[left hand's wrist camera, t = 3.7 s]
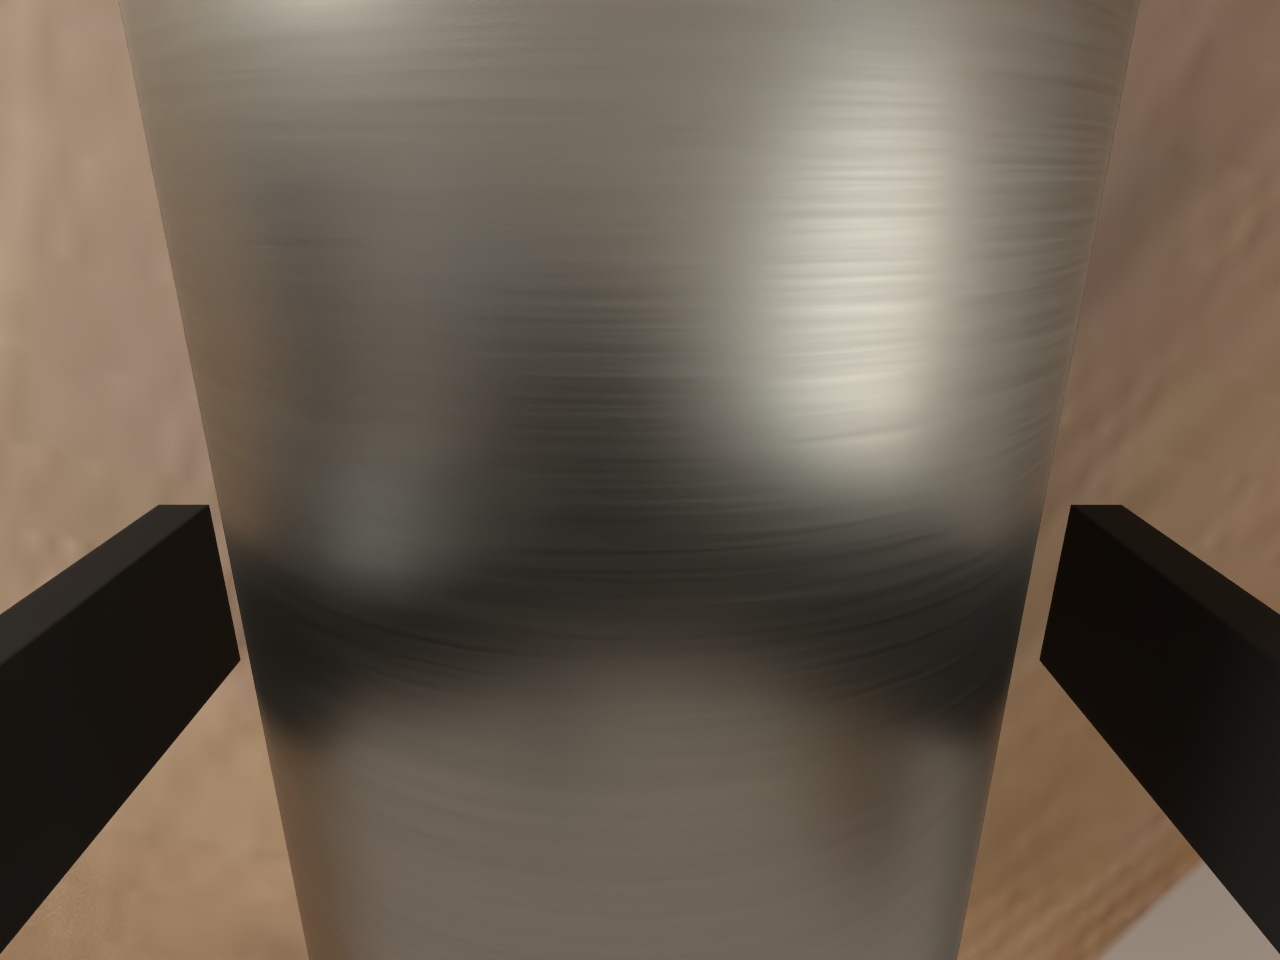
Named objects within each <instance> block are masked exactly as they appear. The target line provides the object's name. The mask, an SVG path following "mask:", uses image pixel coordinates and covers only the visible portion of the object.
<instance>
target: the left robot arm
mask: <svg viewBox="0 0 1280 960" xmlns="http://www.w3.org/2000/svg"><path fill="white" fill-rule="evenodd" d="M239 661H240V655H239V650H238V645H237V640H236V635H235V630H234V626H233V621H232V616H231V611H230V606H229V601H228V596H227V591H226V586H225V581H224V576H223V571H222V567H221V562H220V557H219V552H218V547H217V542H216V537H215V532H214V527H213V522H212V517H211V513H210V508H209V505H158V506H156V507H155V508H153V509H152V510H151V511H149V512H148V513H146V514H145V515H143V516H142V517H140V518H139V519H138V520H136V521H135V522H133V523H132V524H130V525H129V526H127V527H126V528H125V529H123V530H122V531H120V532H119V533H117V534H116V535H114V536H113V537H112V538H110V539H109V540H107V541H106V542H104V543H103V544H102V545H100V546H99V547H97V548H96V549H94V550H93V551H91V552H90V553H89V554H87V555H86V556H84V557H83V558H81V559H80V560H78V561H77V562H76V563H74V564H73V565H71V566H70V567H68V568H67V569H65V570H64V571H63V572H61V573H60V574H58V575H57V576H55V577H54V578H52V579H51V580H50V581H48V582H47V583H45V584H44V585H42V586H41V587H39V588H38V589H37V590H35V591H34V592H32V593H31V594H29V595H28V596H26V597H25V598H24V599H22V600H21V601H19V602H18V603H16V604H15V605H13V606H12V607H11V608H9V609H8V610H6V611H5V612H3V613H2V614H0V954H1V952H2V951H3V950H4V949H5V947H6V946H7V945H8V944H9V943H10V941H11V940H12V939H13V938H14V936H15V935H16V934H17V933H18V932H19V930H20V929H21V928H22V927H23V925H24V924H25V923H26V922H27V921H28V919H29V918H30V917H31V916H32V914H33V913H34V912H35V911H36V910H37V908H38V907H39V906H40V905H41V903H42V902H43V901H44V900H45V899H46V897H47V896H48V895H49V894H50V892H51V891H52V890H53V889H54V888H55V886H56V885H57V884H58V883H59V881H60V880H61V879H62V878H63V877H64V875H65V874H66V873H67V872H68V870H69V869H70V868H71V867H72V866H73V864H74V863H75V862H76V861H77V859H78V858H79V857H80V856H81V855H82V853H83V852H84V851H85V850H86V848H87V847H88V846H89V845H90V844H91V842H92V841H93V840H94V839H95V837H96V836H97V835H98V834H99V832H100V831H101V830H102V829H103V828H104V826H105V825H106V824H107V823H108V821H109V820H110V819H111V818H112V817H113V815H114V814H115V813H116V812H117V810H118V809H119V808H120V807H121V806H122V804H123V803H124V802H125V801H126V799H127V798H128V797H129V796H130V795H131V793H132V792H133V791H134V790H135V788H136V787H137V786H138V785H139V784H140V782H141V781H142V780H143V779H144V777H145V776H146V775H147V774H148V773H149V771H150V770H151V769H152V768H153V766H154V765H155V764H156V763H157V762H158V760H159V759H160V758H161V757H162V755H163V754H164V753H165V752H166V751H167V749H168V748H169V747H170V746H171V744H172V743H173V742H174V741H175V740H176V738H177V737H178V736H179V735H180V733H181V732H182V731H183V730H184V729H185V727H186V726H187V725H188V724H189V722H190V721H191V720H192V719H193V718H194V716H195V715H196V714H197V713H198V711H199V710H200V709H201V708H202V706H203V705H204V704H205V703H206V702H207V700H208V699H209V698H210V697H211V695H212V694H213V693H214V692H215V691H216V689H217V688H218V687H219V686H220V684H221V683H222V682H223V681H224V680H225V678H226V677H227V676H228V675H229V673H230V672H231V671H232V670H233V669H234V667H235V666H236V665H237V664H238V662H239ZM1040 661H1041V662H1042V664H1043V665H1044V666H1045V667H1046V669H1047V670H1048V671H1049V672H1050V673H1051V675H1052V676H1053V677H1054V678H1055V680H1056V681H1057V682H1058V683H1059V684H1060V686H1061V687H1062V688H1063V689H1064V691H1065V692H1066V693H1067V694H1068V695H1069V697H1070V698H1071V699H1072V700H1073V702H1074V703H1075V704H1076V705H1077V706H1078V708H1079V709H1080V710H1081V711H1082V713H1083V714H1084V715H1085V716H1086V718H1087V719H1088V720H1089V721H1090V722H1091V724H1092V725H1093V726H1094V727H1095V729H1096V730H1097V731H1098V732H1099V733H1100V735H1101V736H1102V737H1103V738H1104V740H1105V741H1106V742H1107V743H1108V744H1109V746H1110V747H1111V748H1112V749H1113V751H1114V752H1115V753H1116V754H1117V755H1118V757H1119V758H1120V759H1121V760H1122V762H1123V763H1124V764H1125V765H1126V766H1127V768H1128V769H1129V770H1130V771H1131V773H1132V774H1133V775H1134V776H1135V777H1136V779H1137V780H1138V781H1139V782H1140V784H1141V785H1142V786H1143V787H1144V788H1145V790H1146V791H1147V792H1148V793H1149V795H1150V796H1151V797H1152V798H1153V799H1154V801H1155V802H1156V803H1157V804H1158V806H1159V807H1160V808H1161V809H1162V810H1163V812H1164V813H1165V814H1166V815H1167V817H1168V818H1169V819H1170V820H1171V821H1172V823H1173V824H1174V825H1175V826H1176V828H1177V829H1178V830H1179V831H1180V832H1181V834H1182V835H1183V836H1184V837H1185V839H1186V840H1187V841H1188V842H1189V844H1190V845H1191V846H1192V847H1193V848H1194V850H1195V851H1196V852H1197V853H1198V855H1199V856H1200V857H1201V858H1202V859H1203V861H1204V862H1205V863H1206V864H1207V866H1208V867H1209V868H1210V869H1211V870H1212V872H1213V873H1214V874H1215V875H1216V877H1217V878H1218V879H1219V880H1220V881H1221V883H1222V884H1223V885H1224V886H1225V888H1226V889H1227V890H1228V891H1229V892H1230V894H1231V895H1232V896H1233V897H1234V899H1235V900H1236V901H1237V902H1238V903H1239V905H1240V906H1241V907H1242V908H1243V910H1244V911H1245V912H1246V913H1247V914H1248V916H1249V917H1250V918H1251V919H1252V921H1253V922H1254V923H1255V924H1256V925H1257V927H1258V928H1259V929H1260V930H1261V932H1262V933H1263V934H1264V935H1265V936H1266V938H1267V939H1268V940H1269V941H1270V943H1271V944H1272V945H1273V946H1274V947H1275V949H1276V950H1277V951H1278V952H1279V954H1280V614H1278V613H1277V612H1275V611H1274V610H1272V609H1271V608H1269V607H1268V606H1267V605H1265V604H1264V603H1262V602H1261V601H1259V600H1258V599H1256V598H1255V597H1254V596H1252V595H1251V594H1249V593H1248V592H1246V591H1245V590H1243V589H1242V588H1241V587H1239V586H1238V585H1236V584H1235V583H1233V582H1232V581H1230V580H1229V579H1228V578H1226V577H1225V576H1223V575H1222V574H1220V573H1219V572H1217V571H1216V570H1215V569H1213V568H1212V567H1210V566H1209V565H1207V564H1206V563H1204V562H1203V561H1202V560H1200V559H1199V558H1197V557H1196V556H1194V555H1193V554H1191V553H1190V552H1189V551H1187V550H1186V549H1184V548H1183V547H1181V546H1180V545H1178V544H1177V543H1176V542H1174V541H1173V540H1171V539H1170V538H1168V537H1167V536H1166V535H1164V534H1163V533H1161V532H1160V531H1158V530H1157V529H1155V528H1154V527H1153V526H1151V525H1150V524H1148V523H1147V522H1145V521H1144V520H1142V519H1141V518H1140V517H1138V516H1137V515H1135V514H1134V513H1132V512H1131V511H1129V510H1128V509H1127V508H1125V507H1124V506H1122V505H1071V508H1070V513H1069V517H1068V522H1067V527H1066V532H1065V537H1064V542H1063V547H1062V552H1061V557H1060V562H1059V567H1058V571H1057V576H1056V581H1055V586H1054V591H1053V596H1052V601H1051V606H1050V611H1049V616H1048V621H1047V626H1046V630H1045V635H1044V640H1043V645H1042V650H1041V655H1040Z"/></svg>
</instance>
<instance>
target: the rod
mask: <svg viewBox="0 0 1280 960" xmlns="http://www.w3.org/2000/svg"><path fill="white" fill-rule="evenodd" d="M1139 1H1140V0H119V5H120V10H121V15H122V20H123V25H124V30H125V35H126V40H127V45H128V50H129V55H130V60H131V66H132V71H133V76H134V81H135V86H136V91H137V96H138V101H139V106H140V111H141V116H142V121H143V126H144V131H145V136H146V141H147V146H148V151H149V156H150V161H151V166H152V171H153V176H154V181H155V186H156V191H157V196H158V201H159V206H160V211H161V216H162V221H163V226H164V231H165V237H166V242H167V247H168V252H169V257H170V262H171V267H172V272H173V277H174V282H175V287H176V292H177V297H178V302H179V307H180V312H181V317H182V322H183V327H184V332H185V337H186V342H187V347H188V352H189V357H190V362H191V367H192V372H193V377H194V382H195V387H196V392H197V397H198V402H199V408H200V413H201V418H202V423H203V428H204V433H205V438H206V443H207V448H208V453H209V458H210V463H211V468H212V473H213V478H214V483H215V488H216V493H217V498H218V503H219V508H220V513H221V518H222V523H223V528H224V533H225V538H226V543H227V548H228V553H229V558H230V563H231V568H232V573H233V579H234V584H235V589H236V594H237V599H238V604H239V609H240V614H241V619H242V624H243V629H244V634H245V639H246V644H247V649H248V654H249V659H250V664H251V669H252V674H253V679H254V684H255V689H256V694H257V699H258V704H259V709H260V714H261V719H262V724H263V729H264V734H265V739H266V744H267V750H268V755H269V760H270V765H271V770H272V775H273V780H274V785H275V790H276V795H277V800H278V805H279V810H280V815H281V820H282V825H283V830H284V835H285V840H286V845H287V850H288V855H289V860H290V865H291V870H292V875H293V880H294V885H295V890H296V895H297V900H298V905H299V910H300V915H301V921H302V926H303V931H304V936H305V941H306V946H307V951H308V956H309V960H957V956H958V951H959V946H960V941H961V935H962V930H963V925H964V920H965V914H966V909H967V904H968V899H969V893H970V888H971V883H972V878H973V872H974V867H975V862H976V857H977V851H978V846H979V841H980V836H981V830H982V825H983V820H984V815H985V809H986V804H987V799H988V794H989V788H990V783H991V778H992V773H993V767H994V762H995V757H996V752H997V746H998V741H999V736H1000V731H1001V725H1002V720H1003V715H1004V710H1005V704H1006V699H1007V694H1008V689H1009V683H1010V678H1011V673H1012V668H1013V662H1014V657H1015V652H1016V647H1017V641H1018V636H1019V631H1020V626H1021V620H1022V615H1023V610H1024V605H1025V599H1026V594H1027V589H1028V584H1029V578H1030V573H1031V568H1032V563H1033V557H1034V552H1035V547H1036V542H1037V536H1038V531H1039V526H1040V521H1041V515H1042V510H1043V505H1044V500H1045V494H1046V489H1047V484H1048V479H1049V473H1050V468H1051V463H1052V458H1053V452H1054V447H1055V442H1056V437H1057V431H1058V426H1059V421H1060V416H1061V410H1062V405H1063V400H1064V395H1065V389H1066V384H1067V379H1068V374H1069V368H1070V363H1071V358H1072V353H1073V347H1074V342H1075V337H1076V332H1077V326H1078V321H1079V316H1080V311H1081V305H1082V300H1083V295H1084V290H1085V284H1086V279H1087V274H1088V269H1089V263H1090V258H1091V253H1092V248H1093V242H1094V237H1095V232H1096V226H1097V221H1098V216H1099V211H1100V205H1101V200H1102V195H1103V190H1104V184H1105V179H1106V174H1107V169H1108V163H1109V158H1110V153H1111V148H1112V142H1113V137H1114V132H1115V127H1116V121H1117V116H1118V111H1119V106H1120V100H1121V95H1122V90H1123V85H1124V79H1125V74H1126V69H1127V64H1128V58H1129V53H1130V48H1131V43H1132V37H1133V32H1134V27H1135V22H1136V16H1137V11H1138V6H1139Z"/></svg>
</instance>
